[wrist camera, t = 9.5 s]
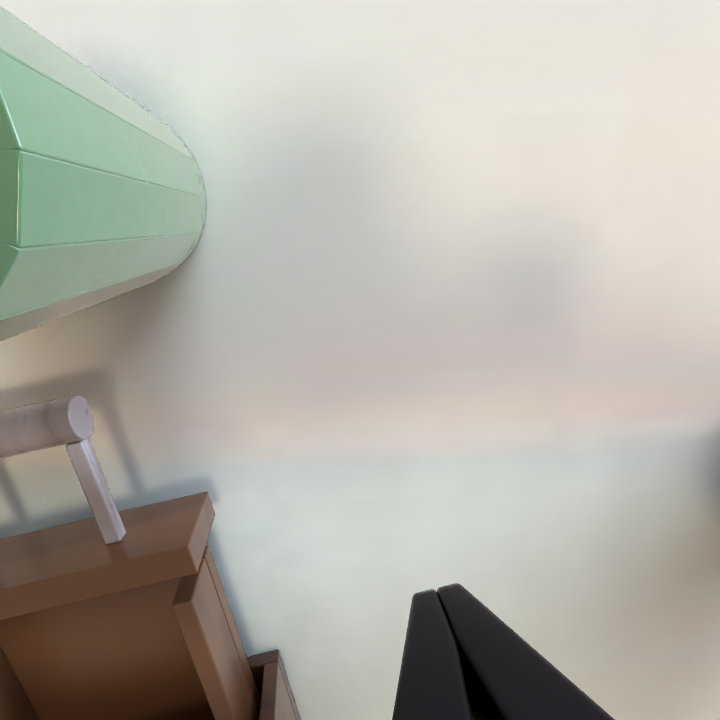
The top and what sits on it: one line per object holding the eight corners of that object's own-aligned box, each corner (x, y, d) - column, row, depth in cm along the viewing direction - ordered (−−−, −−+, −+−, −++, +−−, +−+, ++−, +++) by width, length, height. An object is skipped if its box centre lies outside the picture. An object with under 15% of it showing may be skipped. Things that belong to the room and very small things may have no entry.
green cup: (226, 265, 19) (91, 337, 7) (62, 299, 19) (-375, 436, 7) (177, 86, 17) (-120, -233, 5) (-7, 120, 17) (-776, -134, 5)
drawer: (-128, 426, 18) (-232, 475, 15) (166, 363, 19) (133, 395, 15) (74, 803, 24) (35, 902, 21) (292, 746, 25) (289, 833, 21)
